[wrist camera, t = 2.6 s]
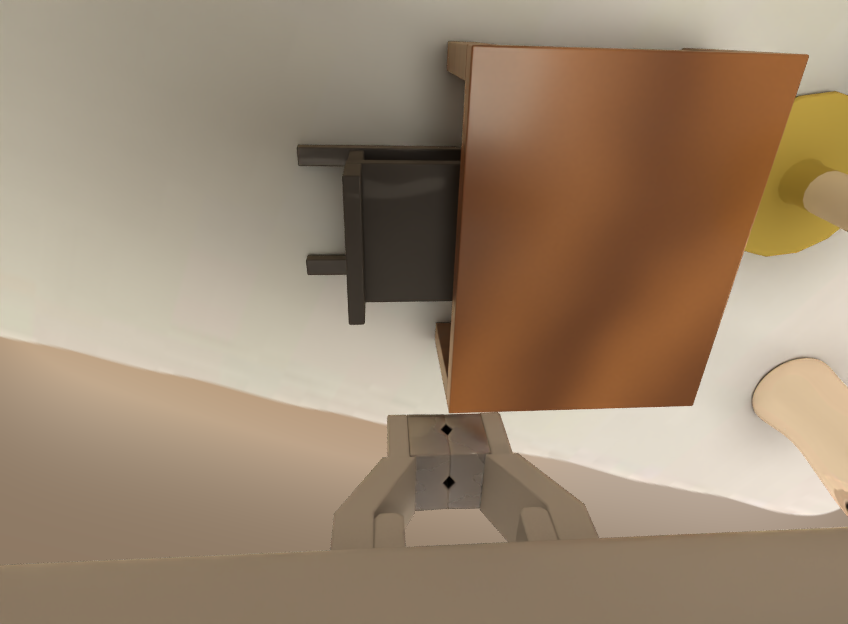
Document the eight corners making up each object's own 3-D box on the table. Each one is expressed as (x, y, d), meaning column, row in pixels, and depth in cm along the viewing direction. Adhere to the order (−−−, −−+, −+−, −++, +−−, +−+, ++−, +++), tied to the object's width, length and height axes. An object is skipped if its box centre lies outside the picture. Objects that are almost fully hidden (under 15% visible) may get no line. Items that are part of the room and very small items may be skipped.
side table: (434, 340, 36) (448, 413, 29) (447, 41, 27) (471, 44, 20) (634, 337, 37) (692, 406, 30) (706, 48, 28) (810, 54, 22)
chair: (308, 270, 32) (293, 326, 26) (298, 144, 29) (277, 175, 23) (473, 268, 33) (495, 322, 27) (482, 146, 30) (510, 177, 24)
